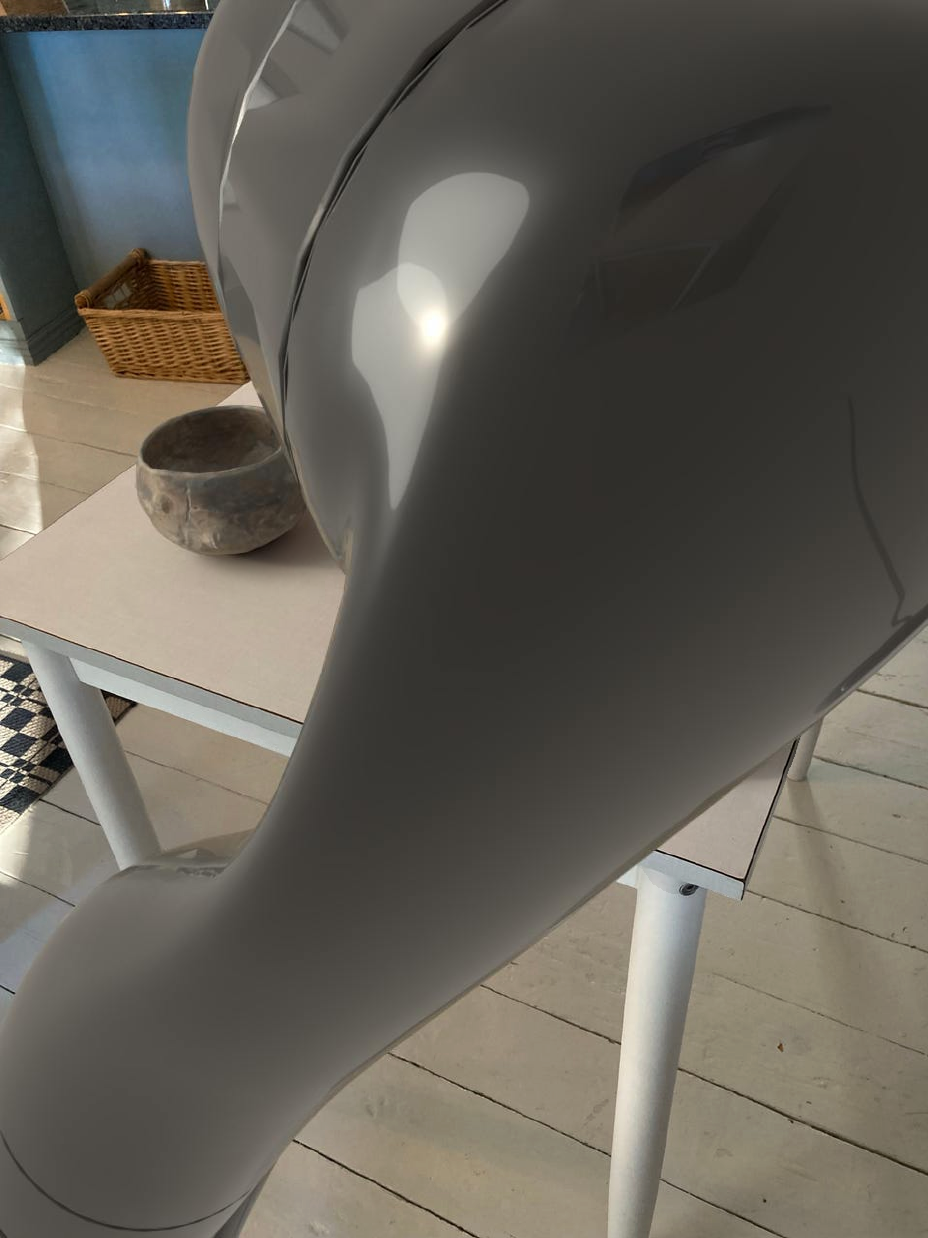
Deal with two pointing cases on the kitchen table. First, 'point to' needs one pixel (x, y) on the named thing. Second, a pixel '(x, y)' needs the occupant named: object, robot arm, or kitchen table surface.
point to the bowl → (218, 481)
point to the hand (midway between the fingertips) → (580, 645)
